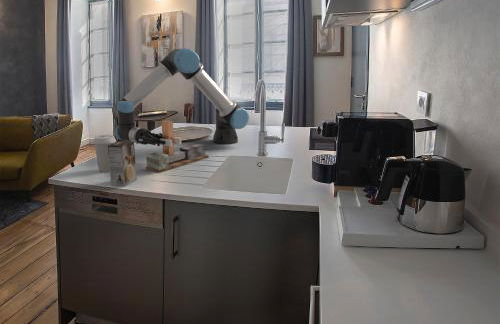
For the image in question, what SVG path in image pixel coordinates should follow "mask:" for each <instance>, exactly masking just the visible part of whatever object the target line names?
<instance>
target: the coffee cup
mask: <svg viewBox="0 0 500 324" xmlns="http://www.w3.org/2000/svg"><path fill="white" fill-rule="evenodd" d="M116 142H117V139H116V138H115V136H114V135H112V134H111V135H110V134H105V135H104V134H101V135H96V136H94V137H93V140H92V143H93V146H94V149H95V155H96V161H97V165H98V170H99V172H100V173H110V166H109V155H108V145H111V144H113V143H116Z"/></svg>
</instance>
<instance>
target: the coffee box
mask: <svg viewBox="0 0 500 324" xmlns="http://www.w3.org/2000/svg"><path fill="white" fill-rule="evenodd" d="M108 155H109V166H110V172H109V175H110V185H111V186H117V187H127V186H128V185H130V184H132V183H133V182H135V181H136V180H137V179H138V178H137V164H136V152H135V143H134V142H132V141H123V140H119V141H116V142H115V143H113V144H111V145H108Z"/></svg>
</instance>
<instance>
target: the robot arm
mask: <svg viewBox="0 0 500 324" xmlns="http://www.w3.org/2000/svg"><path fill="white" fill-rule="evenodd" d="M200 60H201V59H200V57H199V55H198V54H197V52H196V51H194V50H193V49H190V48H188V47H186V48H175V49H173V50H171V51H170V52H169V53H168V54H167V55H166V56H165V57H164V58H163V59H161V60H160V61H159V62H158V66H157V67H156V68H155V69H154V70H153V71H152V72H150V73H149V74H148V75H147V76H146V77H145V78H143V79H142V80H141V82H139V83H138V84H137V85H136V86H134V87H133V88H132V89H131V90H130V91H129V92H128V93H127V94H126V95H125V96H123V98H122V99H120V100H119V101H116V102H114V104H113V105H112V108H111V111H112V112H113V114H114V116H116V117H117V118H118V119H117V120H118V125H117V126H116V127H115V130H114V135H115V136H114V137H116V138H117V139H118V140H119V141H132V142H134V144H135V143H136V145H138V144H140V145H150V146H151V145H152V146H156V145H157V147H160V146H163V145H165V146H170V147H171V146H172V140H167V139H162V132H159V133H154V132H152V131H151V130H150V129H148V128H142V127H138V126H136V122H135V108H136V107H137V106H139V104H141V103H142V102H143V101H144V100H145V99H147V97H149V95H151V94H152V93H153V92H155V90H156V89H157V88H158V87H159V86H160V85H162V84H163V83H164V82H165V81H166V80H167V79H169V78H173V76H174V75H176V74H178V73H180V75H181V76H182V77H183V78H184V79H185V80H186V81H191V82H192V83H193V84H194V85H195V86H196V87H197V88H198V90H199V91H200V92H202V94H203V95H204V96H205V97H206V98H207V100H208V101H210V102H211V104H212V105H213V106H214V107H215V109H214V110H215V131H214V133H213V137H212V142H213V143H215V144H219V145H233V144H236V143H237V144H238V142H239V137H238V133H237V130H242V129H243V128H245V127H246V126H247V125H248V123H249V119H250V114H249V112H248V111H247V110H246V109H245V108H243V107H241V106H240V105H239V104H238V102H236V100H231V99H230V97H228V96H227V94H226V93H225V92H224V91H223V90H222V89H221V88H220V86H219V85H218V84H217V83H216V82H215V81H214V80H213V79H212V77H211V76H210V75H209V74H208V73H207V71H205V70H204V64H203V63H202V62H201V61H200ZM173 140H174V144H177V145H182V138H181V137H175V135H173Z"/></svg>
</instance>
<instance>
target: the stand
mask: <svg viewBox="0 0 500 324" xmlns="http://www.w3.org/2000/svg"><path fill="white" fill-rule="evenodd" d="M181 150H187V158H184V159H180V160H177V161H174V162H170V163H169V159H168V155H167V154H163V152H162V153H161V152H157V151H155V152H151V153H148V154H146V155H145V158H146V166H145V170H146V171H151V172H154V173H158V174H161V173H164V172H166V171H169V170H173V169H176V168H180V167H183V166H187V165H189V164H193V163H197V162H199V161H203V160H206V159H209V158H210V156H209V155H208V154H206V145H205V144H202V143H195V144H191V145H186V146H183V147H179V151H181Z"/></svg>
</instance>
